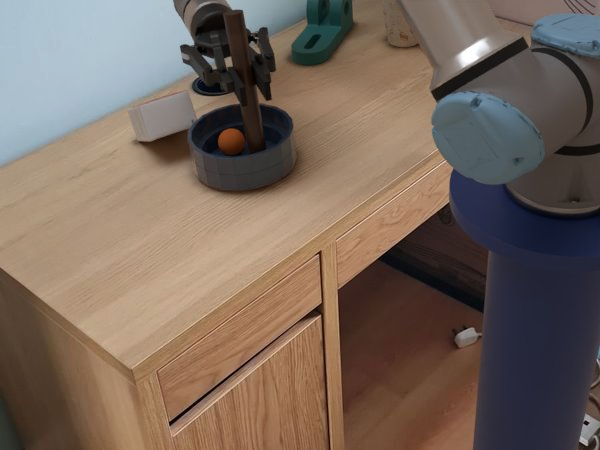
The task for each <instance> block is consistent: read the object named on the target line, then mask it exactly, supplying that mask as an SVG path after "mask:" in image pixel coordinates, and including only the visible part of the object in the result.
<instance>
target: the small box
mask: <svg viewBox="0 0 600 450" xmlns="http://www.w3.org/2000/svg"><path fill="white" fill-rule="evenodd" d="M126 112H127V114H128V117H129V120H130V123H131V125H132V129H133V131H134V134H135V138H136V140H137V141H138V142H148V143H149V142H153V141H156V140H158V139H161V138H165V137H167V136H171V135H174V134H177V133H179V132H182V131H185V130H186V131H187V130H189V129H190V127H191V126H192V124H193V123H194V122H195V121H196V120H197V119H198V117H197V114H196V111H195V108H194V105H193V102H192V99H191V96H190V93H189V90H188V89H185V90H180V91H176V92H172V93H170V94H167V95H163V96H160V97H157V98H154V99H151V100H148V101H145V102H142V103H138V104H136V105H135V104H134V105H133V106H128V107H127V108H126Z"/></svg>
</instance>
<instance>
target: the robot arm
mask: <svg viewBox="0 0 600 450" xmlns="http://www.w3.org/2000/svg"><path fill="white" fill-rule="evenodd" d="M394 1H395V3H396V5H397V6H398V8H399V10H400V12H401V13H402V15H403V17H404V19H405V20H406V22H407V24H408V26H409V27H410V29H411V31H412V33H413V34H414V36H415V38H416V40H417V41H418V45H419V47H420V48H421V50H422V52H423V54H424V55H425V57H426V59H427V61H428V63H429V64H430V66H431V68H432V76H431V79H430V84H429V88H428V90H429V92H430V94H431V95H432V98H433V99H434V100H435V101H434V102H435V103H436V105H435V108H434V109H433V112H432V113H431V114H432V115H431V117H430V124H431V125H432V126H433V127H432V128H431V137H432V139H433V142H434V144H435V147H436V148H437V150H438V152H439V154H440V155H441V156H442V158H443V160H445V161H446V162H447V163H448V164H449V166H450V167H452V169H453V168H454V169H455V170H456V171H458V172H459V173H460V174H462V175H463V176H465V177H467V178H473V179H474V180H475V181H477V182H480V183H483V184H489V185H499V184H503V187H504V190H505V192H506V194H507V195H508V197H509V198H510V199H511V200H512V201H513V202H514V203H515V204H517V205H518V206H520V207H521V208H523V209H525V210H527V211H529V212H531V213H534V214H536V215H539V216H543V217H547V218H552V219H559V220H583V219H589V218H594V217H597V216H600V15H594V14H587V13H577V12H576V13H574V12H573V13H572V12H570V13H569V12H567V13H563V12H561V13H553V14H548V15H545V16H543V17H541V18H539V19H537V20H536V21H535V22H534V25H533V27H532V30H531V32H530V33H529V34H530V36H529V37H530V46H529V44H528V43H527V40H526V39H525V37H524V35H523V34H522V33H519V32H515V31H511V30H508V29H505V28H503V27H502V25H501V24H500V22H499V21H498V18H497V16H496V15H495V13H494V11H493V10H492V8H491V6H490V5H489V3H488V1H487V0H394ZM172 2H173V7H174V10H175V12H176V13H177V15H178V17H180V19H181V21H182V22H183V24H184V26H185V28H186V29H187V31H188V33H189V35H190V37H191V39H192V41H193V44H191V45H190V44H188V43H183V44H181V45H179V50H180V55H181V61H182V63H183V64H185V65H187V66H190V67H191V69H192V70H193V71H194V72H195V74H196V75H198V77H199V79H200V80H202V82H203V83H204V84H205V86H206V87H213V86H215V85H216V83H218V84H219V85H220V90H221V91H224V92H226V93H228V94H229V93H233V94H234V96H235V98H236V99H237V100H238V102H240V103H239V104H241V106H242V107H245V106H248V104H247V97H246V91H245V86H244V85H243V83H242V81H241V80H240V78H239V76H238V75H237V73H236V71H235V70H234V68H233V65H232V66H227V63H226V60H225V59H227V58H231V54H230V48H229V43H228V38H227V32H226V27H225V21H224V16H223V13H225V12H227V11H230V10H233V8H232V7H231V5H230V4H229V3H228V1H227V0H172ZM246 30H247V36H248V42H249V48H250V54H251V59H252V65H253V71H254V77H255V83H256V88H257V90H258V91H259V92H260V93H261V95H262V97H263V99H264V100H265V101H266V102H269V101H272V100H273V97H272V89H271V83H272V75H271V73H275V72H276V71H277V65H276V56H275V52H274V50H273V48H272V45H271V42H270V36H269V29H268V27H266V26H262V27H260V28H259V29H258V30H256V31H254V32H251V29H249V28H247V27H246ZM252 42H253V43H254V44H255V45H256V48H257V49H259V53H258V52H257V51H256V50H255V49H254V48H253V47H252V46H251V45H250V44H251V43H252ZM206 58H209V59H213V61H214V64H215V65H214V66H215V68H213V66H212V65H211V64H210V63H209V61H207V59H206Z"/></svg>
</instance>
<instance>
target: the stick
mask: <svg viewBox="0 0 600 450" xmlns="http://www.w3.org/2000/svg"><path fill="white" fill-rule="evenodd" d="M223 16H224V21H225V27H226V32H227V38H228V43H229V48H230V54H231V57H230V59H231V65H232V66H233V68H234V70H235V71H236V73H237V75H238V76H239V78H240V80H241V81H242V83H243V85H244V86H245V91H246V97H247V104H248V106H245V107H242V106H241V104H240V102H239V101H238V102H239V103H238V104H240V108H241V113H242V119H243V124H244V130H245V135H246V140H247V146H248V151H249V155H251V154H254V153H257V152H261V151H264V150H266V149H267V147H266V141H265V135H264V129H263V123H262V118H261V112H260V106H259V103H260V101H259V96H258V87H257V86H256V83H255V77H254V71H253V65H252V59H251V54H250V48H249V46H250V44H249V42H248V36H247V30H246V28H247V26H246V19H245V13H244V10H243V9H232V10H230V11H227V12H225V13H223Z"/></svg>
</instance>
